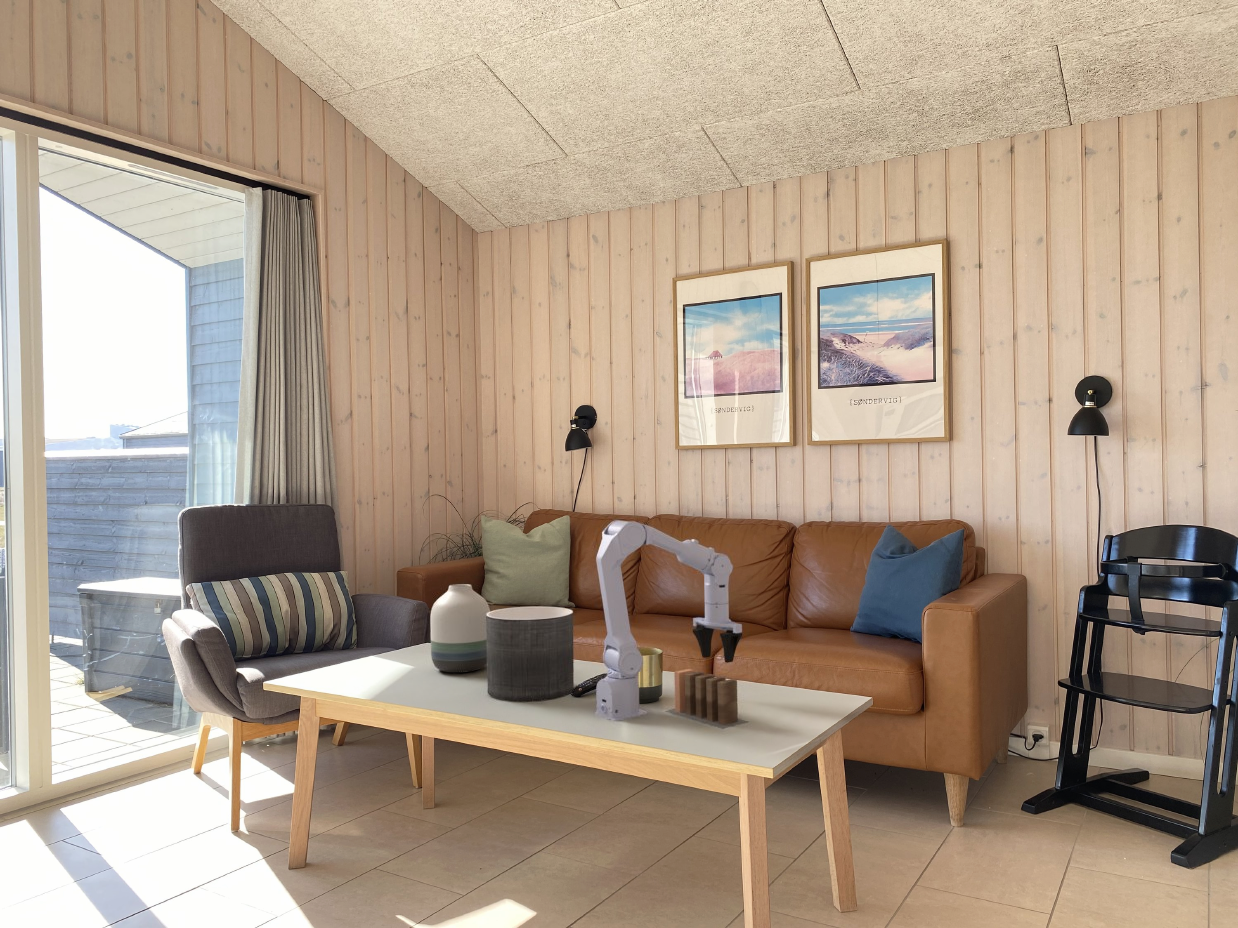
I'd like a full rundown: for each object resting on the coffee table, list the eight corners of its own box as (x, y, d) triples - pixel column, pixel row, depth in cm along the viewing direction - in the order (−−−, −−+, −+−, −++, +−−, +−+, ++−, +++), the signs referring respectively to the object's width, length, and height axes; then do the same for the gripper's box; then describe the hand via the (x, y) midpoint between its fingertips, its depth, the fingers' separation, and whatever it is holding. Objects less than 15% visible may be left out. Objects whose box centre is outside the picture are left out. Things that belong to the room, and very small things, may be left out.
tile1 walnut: (723, 725, 190) (722, 683, 191) (718, 723, 192) (717, 682, 192) (737, 721, 193) (737, 680, 193) (732, 719, 194) (731, 678, 194)
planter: (469, 697, 220) (468, 616, 220) (516, 678, 240) (515, 604, 240) (547, 705, 211) (545, 621, 211) (589, 685, 231) (587, 608, 231)
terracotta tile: (679, 712, 201) (679, 672, 202) (675, 710, 203) (674, 671, 203) (694, 708, 204) (693, 669, 204) (689, 707, 205) (688, 668, 206)
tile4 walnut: (690, 715, 199) (689, 675, 199) (685, 713, 200) (684, 674, 200) (704, 711, 201) (703, 672, 202) (699, 710, 203) (698, 671, 203)
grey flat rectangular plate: (723, 729, 188) (723, 728, 188) (664, 712, 203) (664, 710, 203) (749, 722, 193) (749, 721, 193) (690, 706, 208) (690, 704, 208)
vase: (439, 663, 262) (438, 582, 262) (496, 662, 261) (494, 581, 262) (424, 676, 245) (423, 589, 245) (485, 675, 244) (483, 588, 245)
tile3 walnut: (701, 718, 196) (700, 677, 196) (696, 717, 197) (695, 676, 197) (715, 715, 199) (714, 674, 199) (710, 713, 200) (709, 673, 200)
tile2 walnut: (712, 721, 193) (711, 680, 193) (707, 720, 194) (706, 679, 195) (726, 718, 196) (725, 677, 196) (721, 716, 197) (720, 676, 197)
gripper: (750, 604, 209) (751, 661, 209) (707, 598, 221) (708, 652, 220) (729, 607, 205) (730, 665, 205) (686, 601, 216) (687, 656, 216)
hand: (717, 659), depth 212 cm, fingers open, 7 cm apart
